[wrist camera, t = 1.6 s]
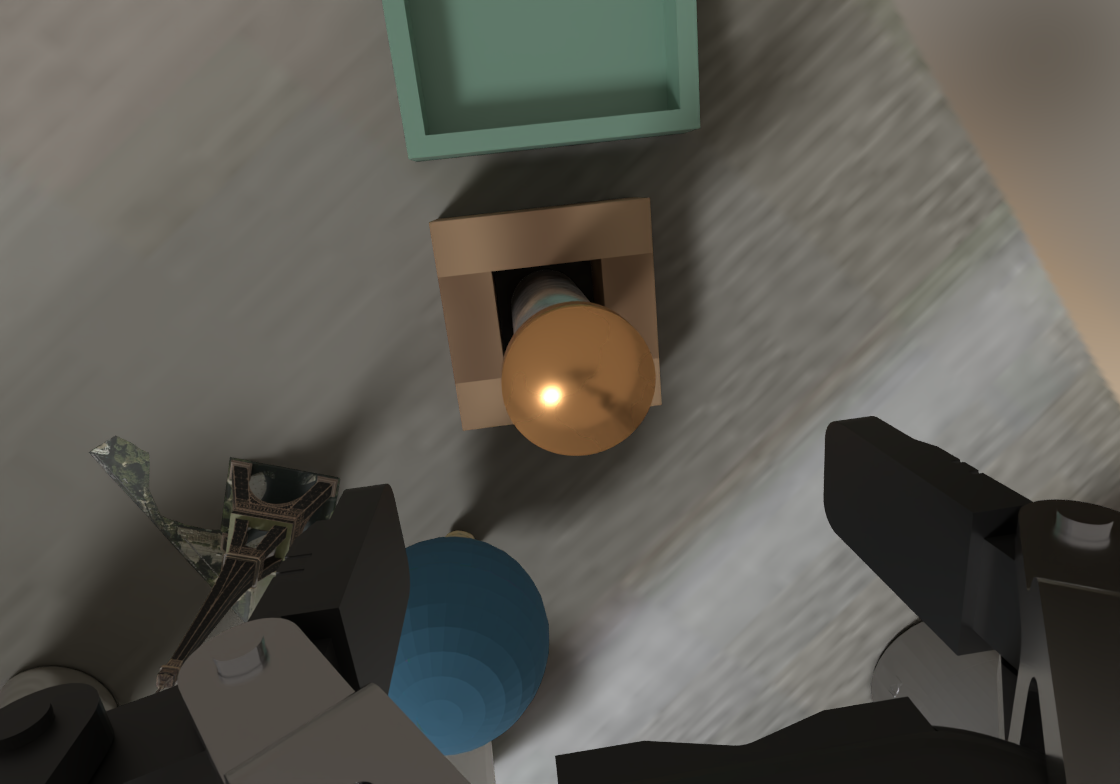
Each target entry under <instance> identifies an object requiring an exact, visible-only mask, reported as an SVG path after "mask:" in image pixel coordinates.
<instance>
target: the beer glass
mask: <svg viewBox="0 0 1120 784" xmlns="http://www.w3.org/2000/svg"><path fill="white" fill-rule="evenodd" d="M68 683H84V684H88V685H91V686H93V687H94V688H95V689H96V690H97V691H98V694H99V696H100V698H101V701H102V703H103V705H104V708H105V710H106V711H108V710H111V709H114V708H116V707H117V704H116V702H115V700H114V698H113V696H112V695H111V693H110V692H109V691H108V690H107V688H106V687H105V686H104V685H102V684H101V683H100V682H99V681H97V680H96V679H94V678H93V677H91V676H89V675H87V674H85V673H83V672H80V671H77V670H74V669H70V668H66V667H58V666H44V667H37V668H32V669H29V670H26V671H23V672H21V673H19V674H17V675H16V676H14V677H13V678H11V679H10V680H9V681H8V682H6V683H5V685H4V686H3V687H2V688H1V689H0V709H1V708H3V707H5V706H6V705H8V704H10V703H12V702H14V701H16V700H18V699H20V698H22V697H24V696H27V695H29V694H32V693H34V692H37V691H39V690H43V689H46V688H49V687H52V686H57V685H61V684H68Z"/></svg>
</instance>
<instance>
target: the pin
mask: <svg viewBox="0 0 1120 784" xmlns="http://www.w3.org/2000/svg"><path fill="white" fill-rule="evenodd" d="M511 311H512V321H513V331H514V335H513V337H512V338H511V340H510V342H509V344H508V346H507V348H506V351H505V354H504V357H503V362H502V372H501V385H502V396H503V401H504V405H505V407H506V410H507V413H508V415H509V417H510V419H511V421H512V422H513V424H514V425H515V426H516V428H517V429H518V430H519V431H520V432H521V433H522V434H523V435H524V436H525V437H526V438H527V439H528V440H530V441H531V442H532V443H534V444H535V445H537V446H539V447H541V448H543V449H545V450H547V451H550V452H553V453H557V454H562V455H569V456H582V455H590V454H595V453H598V452H602V451H605V450H607V449H609V448H611V447H613V446H615V445H617V444H619V443H620V442H622V441H623V440H624V439H626V438H627V437H628V436H629V435H631V434H632V433H633V432H634V431H635V430H636V429H637V427H638V426H639V425H640V423H641V422H642V421H643V419H644V418H645V416H646V414H647V412H648V410H649V408H650V406H651V403H652V400H653V396H654V392H655V385H656V373H655V366H654V362H653V358H652V355H651V352H650V350H649V348H648V346H647V344H646V342H645V341H644V339H643V338H642V336H641V335H640V334H639V333H638V331H637V330H636V329H635V328H634V327H633V326H632V325H631V324H630V323H629V322H628V321H627V320H626V319H624V318H623V317H622V316H621V315H619V314H618V313H616V312H615V311H613V310H611V309H609V308H607V307H605V306H602V305H599V304H596V303H591V302H590V301H589V300H588V299H587V298H586V296H585V295H584V294H583V293H582V292H581V290H580V289H579V288H578V287H577V285H576V284H575V283H574V282H573V281H572V280H571V279H570V278H569V277H568V276H567V275H565V274H563V273H561V272H559V271H556V270H550V269H543V270H538V271H535V272H532V273H530V274H528V275H527V276H525V277H524V278H523V279H522V280H521V281H520V282H519V283H518V285H517V286H516V288H515V290H514V292H513V295H512V299H511Z"/></svg>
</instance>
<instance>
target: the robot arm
mask: <svg viewBox="0 0 1120 784" xmlns="http://www.w3.org/2000/svg"><path fill="white" fill-rule="evenodd" d="M824 508H825V512H826V516H827V519H828V521H829V524H830V525H831V527H832V529H833V530H834V532H835V533H836V534H837V535H838V536H839V537H840V538H841V539H842V540H843V541H844V542H845V543H846V544H847V545H848V546H849V547H850V548H851V549H852V550H853V551H854V552H855V553H856V554H857V555H858V556H859V557H860V558H861V559H862V560H863V561H864V562H865V563H866V564H867V565H868V566H869V567H870V568H871V569H872V570H873V571H874V572H875V573H876V574H877V575H878V576H879V577H880V578H881V579H882V580H883V581H884V582H885V583H886V584H887V585H888V586H889V587H890V588H891V589H892V590H893V591H894V592H895V593H896V595H897V596H898V597H899V598H900V599H901V600H902V601H903V602H904V603H905V604H906V605H907V606H908V607H909V608H910V609H911V610H912V611H913V612H914V613H915V614H916V615H917V616H918V617H919V618H920V619H921V620H922V621H923V622H921V623H919V624H917V625H915V626H913V627H911V628H910V629H909V630H907V631H906V632H904V633H903V634H902V635H900V636H899V637H898V638H897V639H896V640H895V641H894V642H893V643H892V644H891V645H890V646H889V647H888V648H887V649H886V651H885V652H884V654H883V655H882V657H881V658H880V660H879V661H878V664H877V666H876V668H875V671H874V673H873V678H872V683H871V694H872V700H873V702H871V703H865V704H859V705H853V706H847V707H842V708H836V709H830V710H824V711H821V712H819V713H817V714H815V715H812V716H810V717H808V718H806V719H803V720H801V721H799V722H797V723H795V724H792V725H790V726H788V727H786V728H783V729H781V730H779V731H777V732H774V733H772V734H770V735H768V736H766V737H763V738H761V739H759V740H757V741H754V742H752V743H749V744H746V745H740V746H730V745H712V744H693V743H675V742H656V741H640V742H634V743H628V744H622V745H616V746H611V747H605V748H599V749H593V750H587V751H581V752H575V753H569V754H563V755H557V756H555V758H556V767H557V777H558V784H1120V512H1119V511H1116V510H1113V509H1110V508H1107V507H1103V506H1100V505H1095V504H1091V503H1086V502H1080V501H1072V500H1057V499H1054V500H1041V501H1035V502H1032V501H1031V500H1029V499H1027V498H1025V497H1024V496H1022V495H1020V494H1018V493H1017V492H1015V491H1013V490H1012V489H1010V488H1008V487H1006V486H1005V485H1003V484H1001V483H999V482H998V481H996V480H994V479H993V478H991V477H989V476H987V475H986V474H984V473H980V474H979V472H978V470H977V469H975V468H974V467H972V466H970V465H968V464H967V463H965V462H960V459H958V458H956V457H955V456H953V455H951V454H949V453H948V452H946V451H944V450H942V449H941V448H939V447H937V446H934V445H931V444H928V443H924V442H921V441H918V440H915V439H913V438H911V437H909V436H908V435H906V434H904V433H903V432H901V431H899V430H898V429H896V428H894V427H893V426H891V425H889V424H888V423H886V422H884V421H882V420H881V419H879V418H877V417H875V416H869V417H862V418H855V419H848V420H840V421H834V422H831V423H830V424H829V425H828V427H827V430H826V434H825V462H824ZM409 594H410V573H409V564H408V558H407V554H406V549H405V544H404V540H403V535H402V530H401V526H400V521H399V516H398V512H397V507H396V502H395V498H394V494H393V491H392V488H391V486H390V485H389V484H381V485H374V486H367V487H360V488H353V489H346V490H345V491H344V492H343V494H342V496H341V498H340V500H339V502H338V504H337V506H336V508H335V510H334V512H333V514H332V516H331V518H330V519H328V520H321V521H316V522H315V523H314V524H312V525H311V526H310V527H309V528H308V529H306V530H305V531H304V532H303V533H302V534H300V535H299V536H298V537H297V538H295V540H294V542H293V543H292V545H291V547H290V549H289V550H288V552H287V554H286V556H285V561H282V563H281V564H280V566H279V568H278V569H277V571H276V577H273V578H272V580H271V582H270V583H269V585H268V587H267V589H266V590H265V592H264V594H263V595H262V597H261V599H260V601H259V602H258V604H257V606H256V608H255V609H254V611H253V613H252V615H251V616H250V618H249V620H248V621H247V622H245V623H242V624H240V625H237V626H234V627H232V628H230V629H227V630H225V631H223V632H221V633H220V634H218V635H216V636H214V637H213V638H211V639H210V640H208V641H207V642H205V643H204V644H203V645H201V646H200V647H199V648H198V649H197V650H195V651H194V652H193V653H192V654H191V655H190V656H189V658H188V659H187V660H186V661H185V662H184V664H183V666H182V667H181V669H180V671H179V674H178V679H177V684H178V685H176V686H174V687H171V688H169V689H166V690H164V691H161V692H158V693H155V694H153V695H150V696H147V697H144V698H141V699H139V700H136V701H133V702H130V703H128V704H125V705H122V706H119V707H116V708H114V709H111V710H108V711H106V710H105V708H104V705H103V703H102V701H101V698H100V696H99V694H98V691H97V690H96V689H95V688H94V687H93V686H91V685H88V684H84V683H68V684H61V685H57V686H52V687H49V688H46V689H43V690H39V691H37V692H34V693H32V694H29V695H27V696H24V697H22V698H20V699H18V700H16V701H14V702H12V703H10V704H8V705H6V706H5V707H3V708H1V709H0V784H471V783H470V782H469V781H468V780H467V779H466V778H465V777H464V776H463V775H462V774H461V773H460V772H459V771H458V770H457V769H456V767H455V766H454V765H453V764H452V763H451V762H450V761H449V760H448V759H447V758H446V757H445V756H444V755H443V754H442V753H441V752H440V750H439V749H438V748H437V747H436V746H435V745H434V744H433V743H432V742H431V741H430V740H429V739H428V738H427V737H426V736H425V735H424V733H423V732H422V731H421V730H420V729H419V728H418V727H417V726H416V725H415V724H414V723H413V722H412V721H411V720H410V719H409V718H408V716H407V715H406V714H405V713H404V712H403V711H402V710H401V709H400V708H399V707H398V706H397V705H396V704H395V703H394V702H393V701H392V700H391V698H390V697H389V696H388V693H389V688H390V684H391V679H392V674H393V670H394V665H395V660H396V656H397V651H398V646H399V642H400V637H401V632H402V627H403V623H404V618H405V613H406V609H407V604H408V599H409Z"/></svg>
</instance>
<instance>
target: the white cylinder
mask: <svg viewBox="0 0 1120 784" xmlns="http://www.w3.org/2000/svg"><path fill="white" fill-rule="evenodd" d="M445 757H446V758H447V759H448V760H449V761H450V762H451V763H452V764H453V765H454V766H455V767H456V769H457V770H458V771H459V772H460V773H461V774H462V775H463V776H464V777H465V778H466V779H467V780H468V781H469V782H470V783H471V784H496V783H495V772H494V762H493V751H492V741H490V742H489V743H487V744H485V745H484V746H481V747H479V748H477V749H474V750H472V751H469V752H465V753H461V754H456V755H447V756H445Z"/></svg>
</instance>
